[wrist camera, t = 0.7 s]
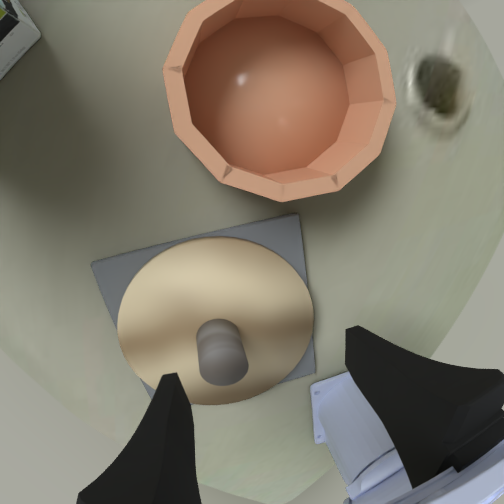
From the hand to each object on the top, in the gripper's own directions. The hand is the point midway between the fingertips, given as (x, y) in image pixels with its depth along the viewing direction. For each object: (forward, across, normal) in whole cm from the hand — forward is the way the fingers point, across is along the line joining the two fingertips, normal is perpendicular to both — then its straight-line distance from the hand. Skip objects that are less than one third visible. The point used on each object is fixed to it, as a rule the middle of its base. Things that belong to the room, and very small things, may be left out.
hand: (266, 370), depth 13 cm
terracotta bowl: (+9, -4, -11) cm, 15 cm away
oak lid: (+8, +2, +3) cm, 9 cm away
